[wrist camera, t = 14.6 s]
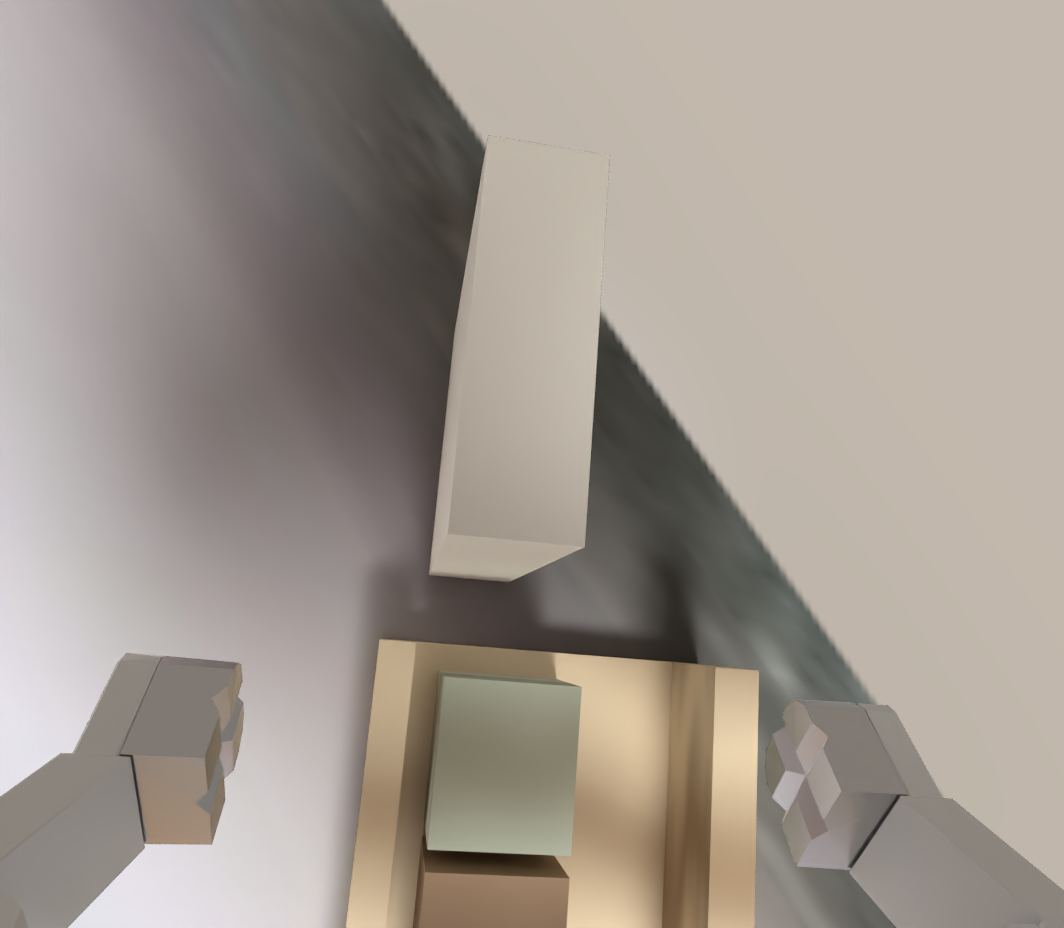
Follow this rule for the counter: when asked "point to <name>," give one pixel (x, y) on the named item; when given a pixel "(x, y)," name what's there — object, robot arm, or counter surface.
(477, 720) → the offcuts
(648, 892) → the oak rack
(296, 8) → the counter surface
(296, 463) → the counter surface
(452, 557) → the cream board
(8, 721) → the counter surface
